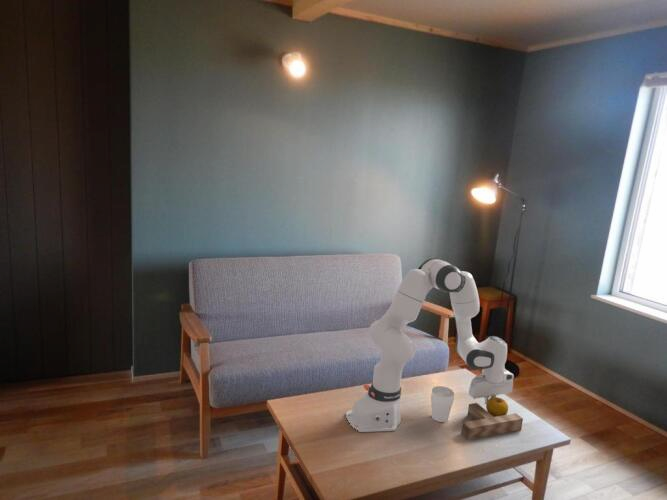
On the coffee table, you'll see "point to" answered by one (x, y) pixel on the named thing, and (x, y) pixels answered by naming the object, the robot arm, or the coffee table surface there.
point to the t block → (488, 423)
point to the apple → (497, 407)
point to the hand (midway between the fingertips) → (488, 404)
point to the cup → (441, 403)
